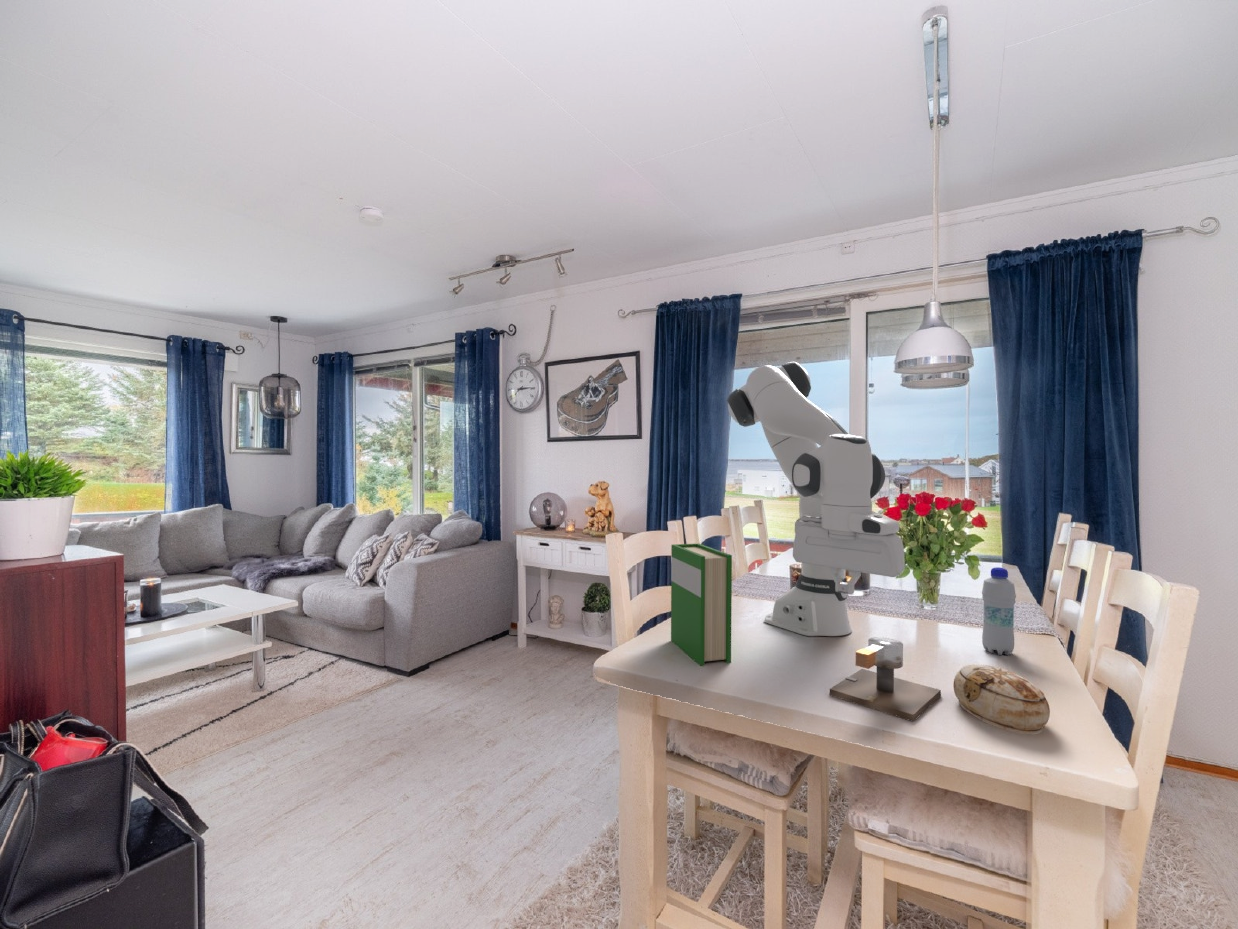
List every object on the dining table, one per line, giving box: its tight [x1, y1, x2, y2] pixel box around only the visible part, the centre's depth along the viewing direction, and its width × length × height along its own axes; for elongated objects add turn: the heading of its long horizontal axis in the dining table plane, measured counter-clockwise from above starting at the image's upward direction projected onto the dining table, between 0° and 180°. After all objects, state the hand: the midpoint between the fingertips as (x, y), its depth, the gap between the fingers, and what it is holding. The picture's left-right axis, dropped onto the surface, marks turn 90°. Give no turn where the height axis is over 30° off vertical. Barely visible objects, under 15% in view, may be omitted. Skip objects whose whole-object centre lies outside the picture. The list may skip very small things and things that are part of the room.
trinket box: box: [953, 664, 1051, 735], centre depth 100 cm, size 13×15×8 cm
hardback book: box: [670, 543, 733, 667], centre depth 132 cm, size 18×7×24 cm, turn 16°
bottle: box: [981, 566, 1017, 656], centre depth 132 cm, size 7×7×20 cm
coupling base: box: [829, 666, 942, 722], centre depth 107 cm, size 15×15×6 cm
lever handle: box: [855, 636, 904, 670], centre depth 105 cm, size 13×6×4 cm, turn 132°
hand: (844, 592), depth 106 cm, fingers closed
